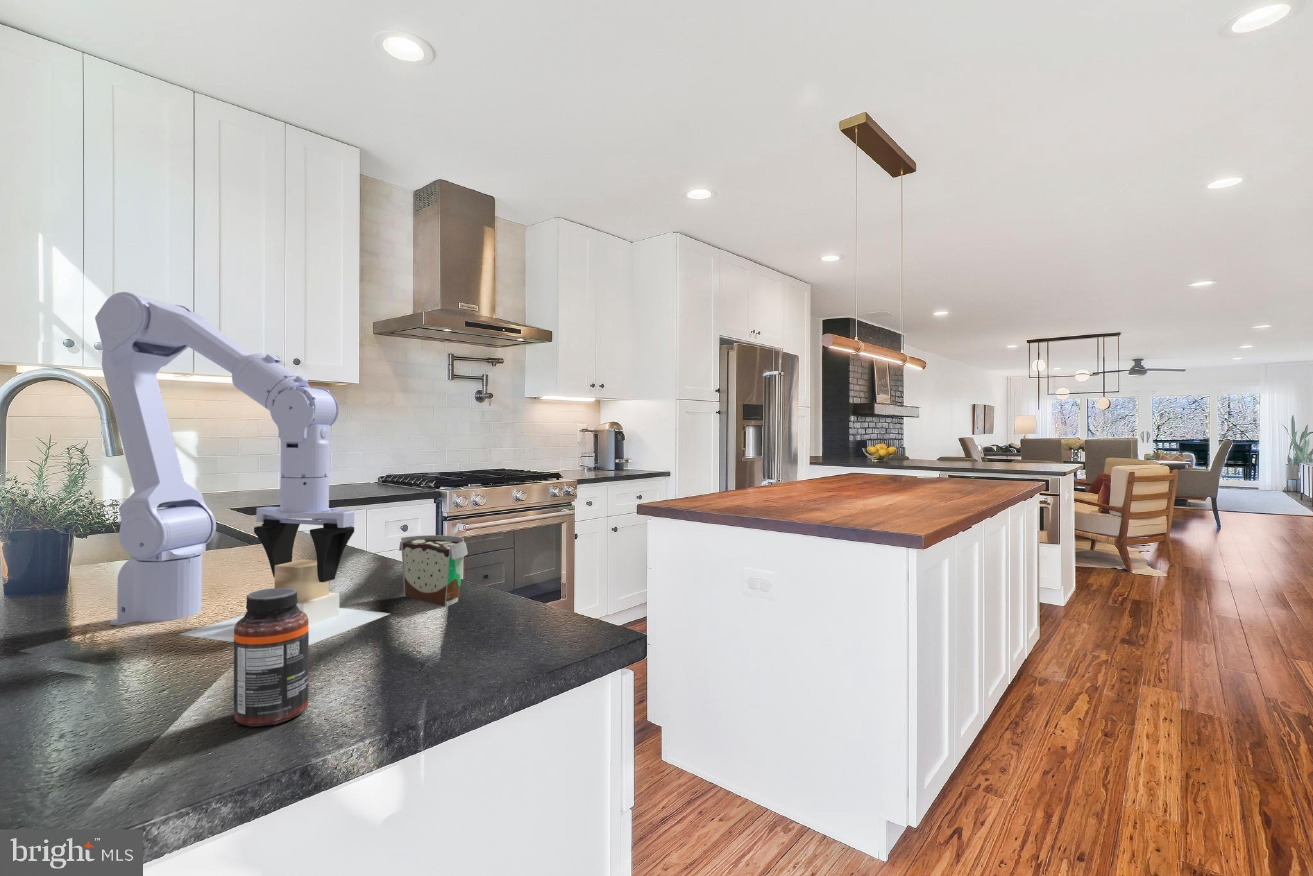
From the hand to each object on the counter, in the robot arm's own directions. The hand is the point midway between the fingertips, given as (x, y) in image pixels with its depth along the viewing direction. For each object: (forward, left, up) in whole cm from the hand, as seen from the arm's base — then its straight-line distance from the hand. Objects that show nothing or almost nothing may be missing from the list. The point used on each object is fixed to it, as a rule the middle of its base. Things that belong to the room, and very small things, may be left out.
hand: (304, 578), depth 85 cm
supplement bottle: (+19, -22, -7) cm, 30 cm away
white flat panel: (0, -2, -6) cm, 7 cm away
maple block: (0, 0, -2) cm, 3 cm away
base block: (0, 0, -6) cm, 6 cm away
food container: (+10, +16, -7) cm, 20 cm away
